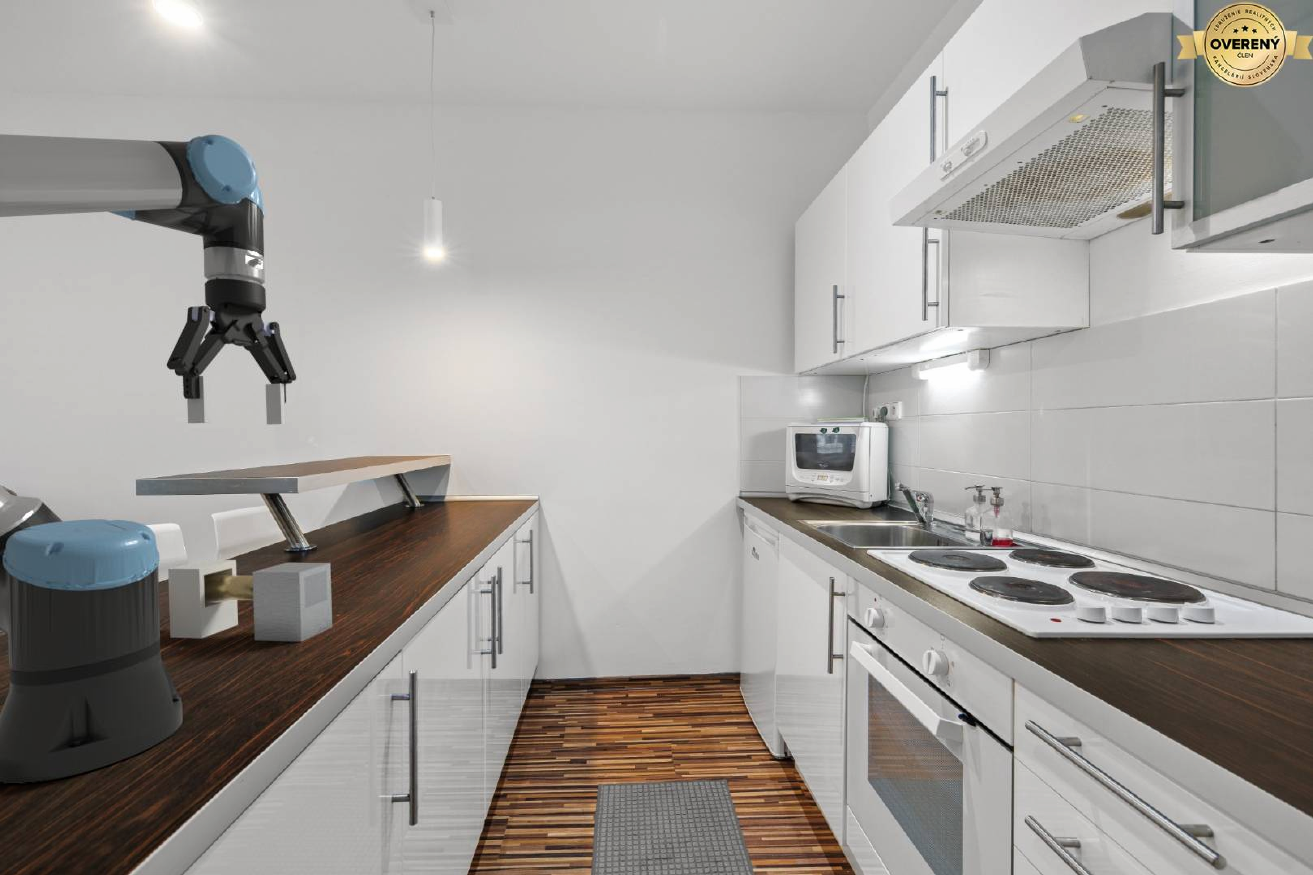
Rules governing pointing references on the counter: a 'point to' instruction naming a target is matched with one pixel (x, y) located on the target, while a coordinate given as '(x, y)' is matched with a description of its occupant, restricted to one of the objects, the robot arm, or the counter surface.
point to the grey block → (292, 601)
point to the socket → (199, 600)
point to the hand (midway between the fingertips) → (240, 424)
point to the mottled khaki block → (228, 587)
